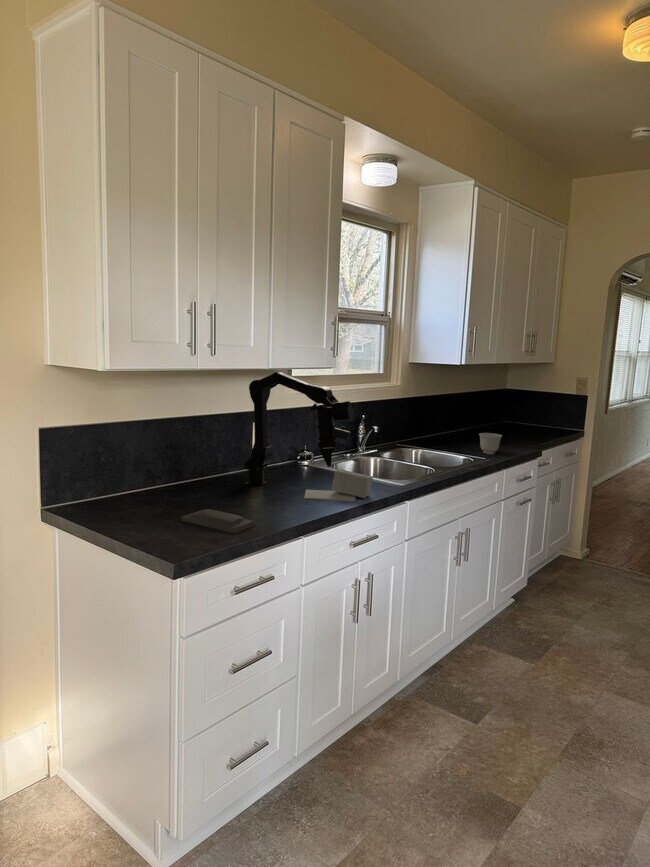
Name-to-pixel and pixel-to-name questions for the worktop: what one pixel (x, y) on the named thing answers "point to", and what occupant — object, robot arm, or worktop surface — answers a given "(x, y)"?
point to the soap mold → (219, 520)
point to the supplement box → (352, 483)
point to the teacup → (489, 442)
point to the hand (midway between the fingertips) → (329, 464)
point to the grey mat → (328, 495)
